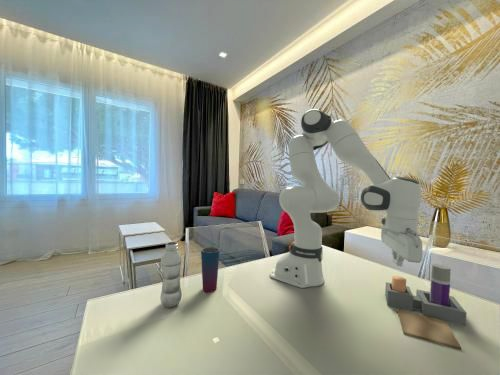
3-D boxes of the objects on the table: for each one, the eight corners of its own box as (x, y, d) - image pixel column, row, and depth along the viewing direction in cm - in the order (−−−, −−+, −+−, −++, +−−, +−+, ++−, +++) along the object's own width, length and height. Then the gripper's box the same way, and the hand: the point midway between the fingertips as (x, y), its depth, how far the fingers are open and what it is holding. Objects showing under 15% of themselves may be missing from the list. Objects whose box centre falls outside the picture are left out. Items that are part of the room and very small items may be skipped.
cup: (196, 291, 81) (197, 250, 80) (207, 283, 87) (207, 245, 86) (212, 295, 78) (213, 253, 77) (222, 287, 84) (223, 248, 84)
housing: (387, 307, 74) (388, 292, 73) (384, 293, 82) (385, 280, 82) (465, 325, 65) (466, 309, 65) (452, 308, 74) (453, 293, 74)
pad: (403, 333, 61) (403, 331, 61) (397, 311, 72) (397, 309, 71) (461, 349, 55) (461, 347, 55) (444, 322, 66) (445, 320, 66)
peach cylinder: (391, 302, 76) (393, 279, 75) (390, 297, 79) (391, 275, 79) (406, 305, 74) (407, 282, 73) (404, 299, 77) (405, 277, 77)
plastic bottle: (186, 301, 74) (186, 242, 73) (170, 312, 68) (171, 248, 67) (171, 296, 77) (172, 239, 76) (155, 306, 70) (156, 244, 70)
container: (451, 317, 69) (454, 270, 68) (434, 315, 70) (437, 268, 69) (442, 308, 73) (444, 264, 73) (426, 306, 74) (428, 262, 74)
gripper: (431, 234, 64) (426, 280, 65) (396, 219, 84) (393, 254, 86) (407, 232, 65) (403, 277, 66) (379, 217, 85) (375, 252, 87)
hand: (397, 264), depth 76 cm, fingers closed
